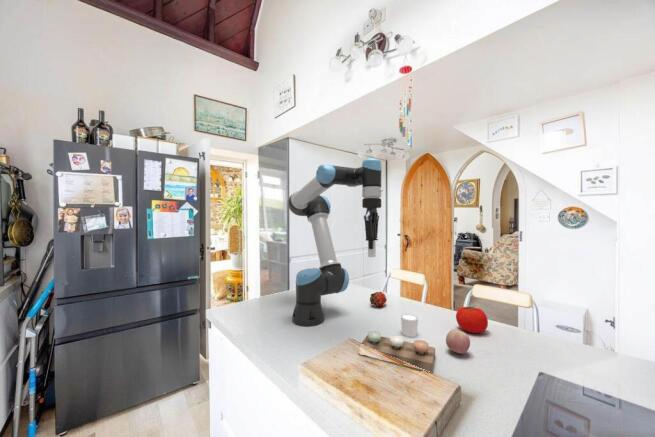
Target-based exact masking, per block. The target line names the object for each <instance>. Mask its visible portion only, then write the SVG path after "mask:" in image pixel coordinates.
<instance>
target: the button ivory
mask: <svg viewBox="0 0 655 437" xmlns="http://www.w3.org/2000/svg"><path fill="white" fill-rule="evenodd" d="M389 338H390V344H391V345H393V346H394V348H395V349H400V347H401V346H403V345H404V341H405V339H404V337H403V336H401V335H396V334H395V335H390V337H389Z"/></svg>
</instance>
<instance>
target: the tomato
mask: <svg viewBox="0 0 655 437" xmlns="http://www.w3.org/2000/svg"><path fill="white" fill-rule="evenodd" d="M455 320H456V322H457V324H458V326H459V328H460V329H462V330H464V331H466V332H468V333H472V334H478V333H479V334H481V333H483V332H485V331H487V328H488V327H489V322H488V321H489V320H488V317H487V314H486V313H485V312H484V311H483V309H481V308H479V307H476V305H474V306H461V307H460V308H458V309H457V311H456V315H455Z"/></svg>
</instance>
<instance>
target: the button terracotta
mask: <svg viewBox="0 0 655 437" xmlns="http://www.w3.org/2000/svg"><path fill="white" fill-rule="evenodd" d="M413 343H414V349H415V350H416V351H418V354H422V355H424V352H427V351H428V346H429V343H428V342H427V341H426V340H421V339H416V340H414V341H413Z"/></svg>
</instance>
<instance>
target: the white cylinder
mask: <svg viewBox="0 0 655 437" xmlns="http://www.w3.org/2000/svg"><path fill="white" fill-rule="evenodd" d="M400 322H401V332H402V335H403V336H404V337H408V338H415V337H417V335H418V325H419V317H418V316H417V315H414V314H409V313H408V314H407V313H406V314H402V315H401V316H400Z"/></svg>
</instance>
